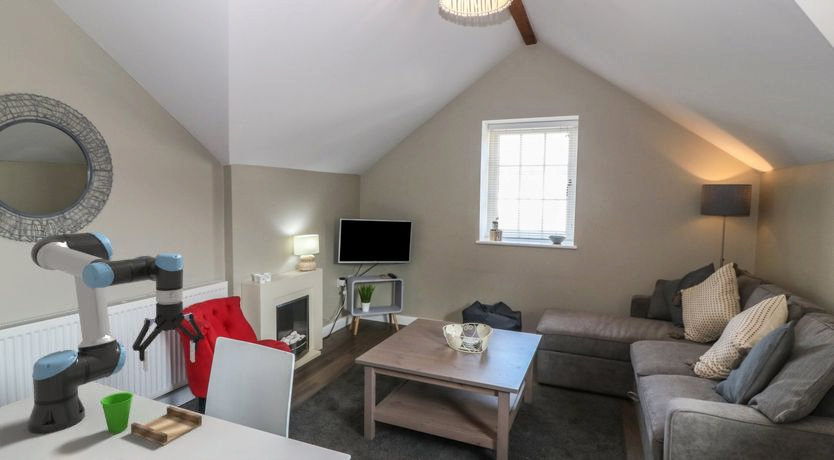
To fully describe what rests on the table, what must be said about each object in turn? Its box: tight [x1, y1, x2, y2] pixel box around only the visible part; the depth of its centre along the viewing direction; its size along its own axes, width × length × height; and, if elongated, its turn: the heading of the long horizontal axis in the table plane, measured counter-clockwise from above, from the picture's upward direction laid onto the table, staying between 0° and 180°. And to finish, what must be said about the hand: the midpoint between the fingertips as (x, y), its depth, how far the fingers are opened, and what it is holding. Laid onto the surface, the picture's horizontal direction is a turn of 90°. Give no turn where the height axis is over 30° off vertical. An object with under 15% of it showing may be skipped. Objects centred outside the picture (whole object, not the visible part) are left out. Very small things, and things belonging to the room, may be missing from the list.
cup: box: [100, 391, 134, 435], centre depth 146 cm, size 9×9×11 cm
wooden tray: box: [130, 405, 203, 446], centre depth 148 cm, size 16×14×3 cm
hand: (169, 365), depth 142 cm, fingers open, 13 cm apart
